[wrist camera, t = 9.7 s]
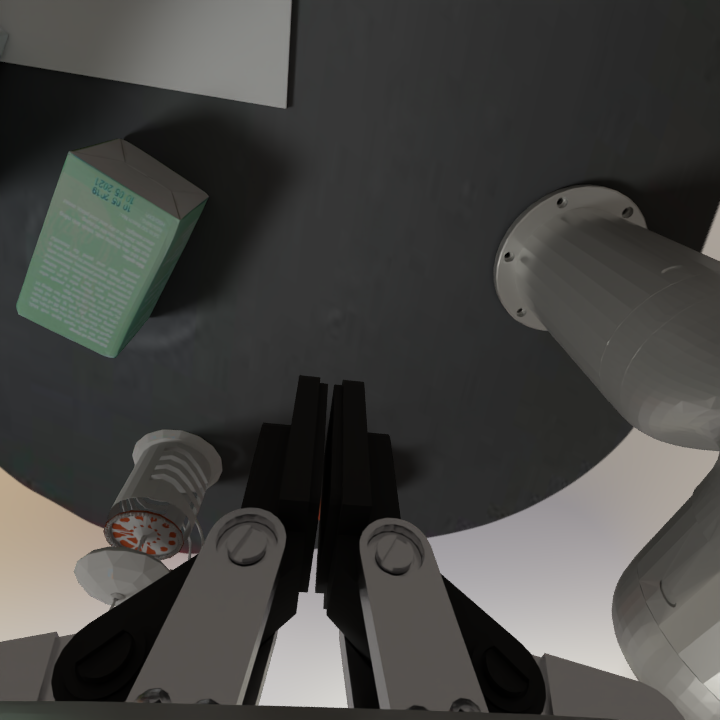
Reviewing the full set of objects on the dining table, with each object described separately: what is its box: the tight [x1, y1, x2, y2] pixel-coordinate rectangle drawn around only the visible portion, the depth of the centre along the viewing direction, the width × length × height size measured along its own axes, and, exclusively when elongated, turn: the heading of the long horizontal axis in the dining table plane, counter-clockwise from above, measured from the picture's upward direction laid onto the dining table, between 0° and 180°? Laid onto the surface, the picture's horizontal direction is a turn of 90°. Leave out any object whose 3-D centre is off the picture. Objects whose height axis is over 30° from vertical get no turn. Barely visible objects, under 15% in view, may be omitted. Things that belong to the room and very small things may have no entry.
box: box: [16, 139, 209, 358], centre depth 33 cm, size 7×14×8 cm, turn 145°
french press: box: [74, 430, 222, 610], centre depth 38 cm, size 10×12×25 cm
